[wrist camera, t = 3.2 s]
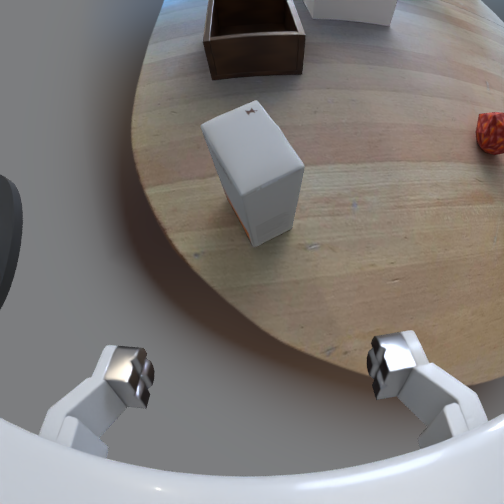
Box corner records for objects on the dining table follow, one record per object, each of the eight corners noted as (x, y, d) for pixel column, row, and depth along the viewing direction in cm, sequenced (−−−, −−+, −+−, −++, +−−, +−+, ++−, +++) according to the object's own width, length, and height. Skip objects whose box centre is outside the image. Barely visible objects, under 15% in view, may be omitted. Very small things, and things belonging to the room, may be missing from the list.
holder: (212, 80, 33) (202, 41, 26) (215, 29, 36) (208, -3, 29) (302, 74, 32) (305, 34, 25) (288, 24, 35) (288, -9, 29)
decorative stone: (460, 140, 31) (487, 114, 29) (491, 174, 29) (517, 146, 26) (467, 117, 26) (495, 91, 23) (503, 156, 23) (530, 126, 21)
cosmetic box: (225, 197, 28) (197, 122, 17) (263, 179, 29) (257, 96, 17) (253, 251, 27) (239, 197, 15) (294, 230, 27) (309, 165, 16)
